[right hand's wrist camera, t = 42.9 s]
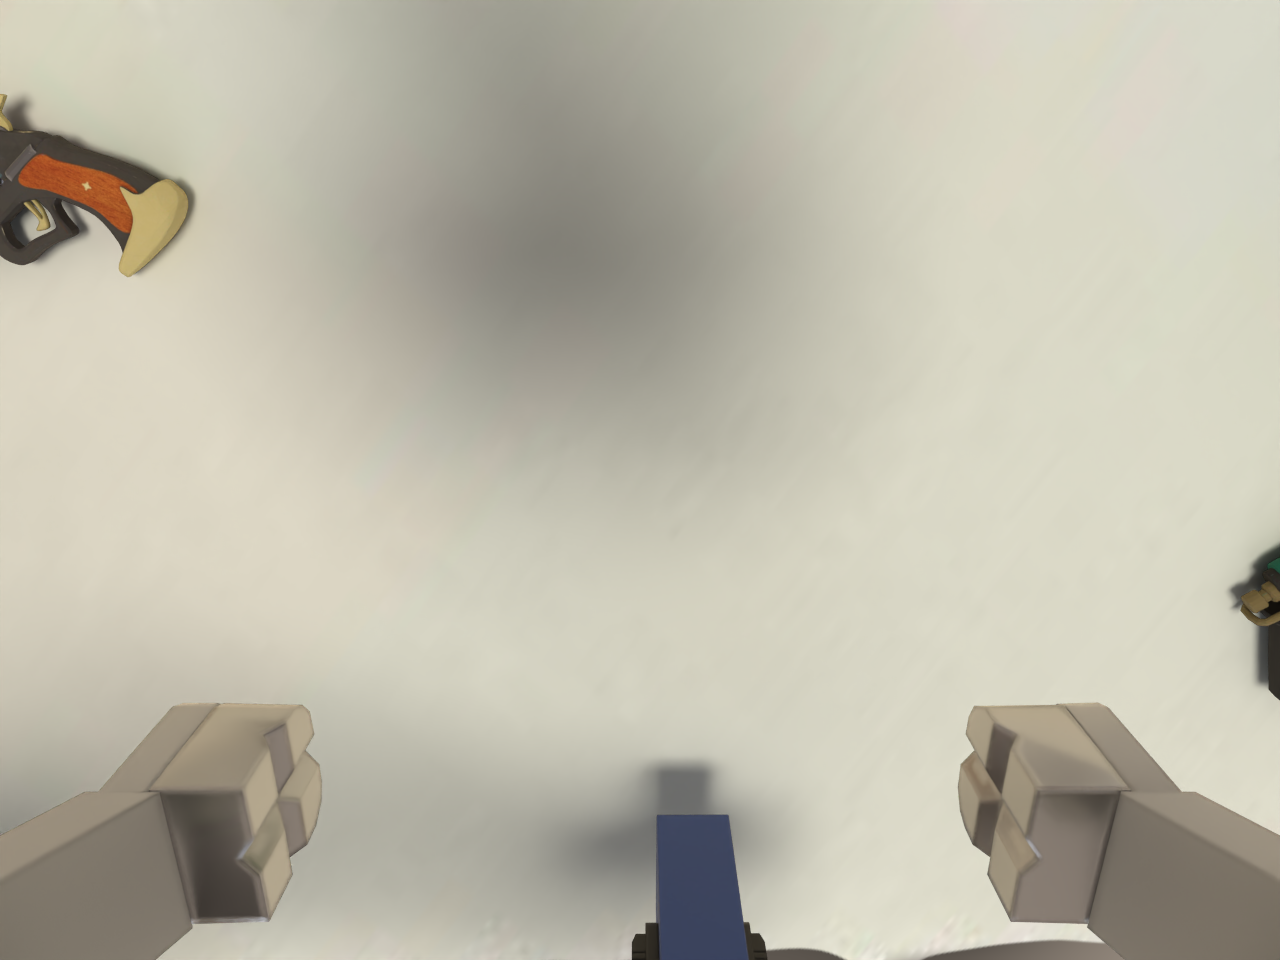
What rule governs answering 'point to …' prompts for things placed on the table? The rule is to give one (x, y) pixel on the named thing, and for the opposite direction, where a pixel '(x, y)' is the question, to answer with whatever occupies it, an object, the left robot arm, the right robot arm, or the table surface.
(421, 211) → the table surface
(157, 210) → the toy gun
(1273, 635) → the spray gun
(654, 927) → the left robot arm
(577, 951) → the table surface
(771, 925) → the table surface
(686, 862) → the brick
